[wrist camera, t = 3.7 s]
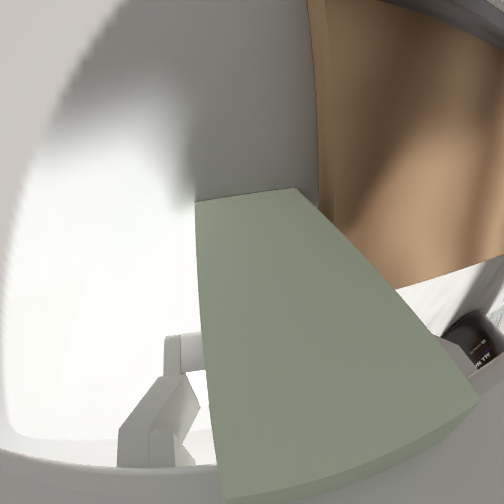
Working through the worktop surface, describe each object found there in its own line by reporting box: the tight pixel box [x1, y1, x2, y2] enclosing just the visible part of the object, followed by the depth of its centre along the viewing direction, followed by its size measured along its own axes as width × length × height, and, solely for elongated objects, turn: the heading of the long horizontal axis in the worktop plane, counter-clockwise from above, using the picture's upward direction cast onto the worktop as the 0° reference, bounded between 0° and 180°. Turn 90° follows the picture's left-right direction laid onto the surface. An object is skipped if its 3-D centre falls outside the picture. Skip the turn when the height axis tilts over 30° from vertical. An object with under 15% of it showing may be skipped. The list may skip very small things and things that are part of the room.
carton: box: [195, 188, 481, 504], centre depth 9 cm, size 4×6×10 cm, turn 5°
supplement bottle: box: [442, 312, 504, 369], centre depth 16 cm, size 7×7×12 cm
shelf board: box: [307, 0, 504, 290], centre depth 10 cm, size 20×14×4 cm
